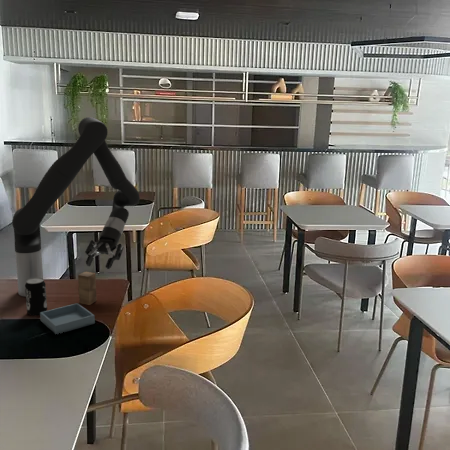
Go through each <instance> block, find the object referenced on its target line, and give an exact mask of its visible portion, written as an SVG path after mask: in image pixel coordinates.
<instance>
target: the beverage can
mask: <svg viewBox="0 0 450 450" xmlns="http://www.w3.org/2000/svg"><path fill="white" fill-rule="evenodd" d="M25 292H26V297H25V302H26V304H25V305H26V312H27V314H28V315H30V316H33V317H34V316H35V317H36V316H40V312H44V311H48V303H47V301H48V300H47V299H48V298H47V286H46V282H45V279H44V277H43V278H30V279H28V280H26V284H25Z"/></svg>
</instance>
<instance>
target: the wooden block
mask: <svg viewBox="0 0 450 450" xmlns="http://www.w3.org/2000/svg"><path fill="white" fill-rule="evenodd" d="M77 278H78V279H77V280H78V282H77V283H78V299H79V301H78V304H80V305H88V306H90V305H93V303H95V302H97V301H98V300H97V283H96V282H97V281H96V279H97V277H96V272H91V271H83V272H81V273H80V274H78V275H77Z"/></svg>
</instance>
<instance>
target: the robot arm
mask: <svg viewBox="0 0 450 450" xmlns="http://www.w3.org/2000/svg"><path fill="white" fill-rule="evenodd" d="M77 127H78V128H77V131H78V134H79V137H78V139H77V140H76V142H75V143H74V145H72V147H70V149H69V150H68V151H67V152H65V153H63V154H62V155H61V156H59V157H58V158H57V159H56V160H55V161H54V162H53V163H52V164H51V166H50V167H49V168H48V169H47V171H46V172H45V174H44V176H43V177H42V179H41V180H40V182H39V184H38V185H37V187H36V189H35V191H34V193H33V195H32V197H31V198H30V199H29V200H28V201H27V203H26V204H25V205H23V207H20V208H19V209H18V210H16V211H15V213H14V214H13V217H12V221H11V224H12V227H13V235H14V252H15V253H14V254H15V255H14V257H15V264H16V266H15V267H16V276H17V279H16V280H17V289H18V290H17V291H18V292H17V293H18V295H19V296H21V297H25V298H26V292H25V284H26V280H28V279H30V278H43V279H44V269H43V255H42V240H41V239H42V237H41V225H40V224H41V222H42V221H43V219H44V218H45V216H46V214H47V213H48V212H49V209H51V207H52V206H53V205H54V204H55V203H56V201H58V200H59V198H60V197H61V196H62V195H63V194H64V192H65V191H66V190H67V188H68V187H69V186H70V185H71V184H72V182H73V181H74V179H75V178H76V177H77V175H78V174H79V172H80V171H81V170H82V168H83V167H84V166H85V164H86V163H87V162H88V160H89V158H91V156H92V155H94V156H95V158H96V159H97V162H98V163H99V166H100V167H101V169H102V171H103V173H104V175H105V178H106V179H107V181H108V183H109V185H110V187H111V188H112V189H114V190H117V191H116V192H115V193H114V196H113V198H112V201H113V202H112V206H111V207H112V208H111V211H110V215H109V216H108V218H107V220H106V222H105V224H104V226H103V229H102V230H101V232H100V234H99V240H98V241H94V240H90V241H89V243H88V246H87V247H86V250H85V252H84V253H85V254H86V255H87V258H86V260H85V264H86V266H87V267H91V265H92V263H93V260H94V258H95V257H97V256H99V255H108V256H109V257H108V260H107V261H106V264H105V268H106V270H110V269H111V268H112V267H113V263H114V262H115V261H119V260H120V259H121V256H122V253H123V250H124V248H125V247H124V246H123V244H121V243H119V242H120V240H121V237H122V234H123V232H124V230H125V227H126V223H127V221H128V219H129V216H130V214H129V213H130V212H129V210H127V208H125V207H134V206H137V205H138V204H139V203H140V200H141V198H140V197H141V196H140V193H139V191H138V189H137V188H136V187H135V186H134V184H132V182H131V181H130V180H129V179H128V178H127V176H126V174H125V172H124V170H123V168H122V166H121V164H120V163H119V161H118V160H117V159H116V157H115V155H114V154H113V153H112V151H111V150H110V148H109V146H108V144H107V142H106V140H107V136H108V127H107V125H106V124H105V123H104V122H103V121H100V120H99V119H97V118H94V117H90V116H89V117H84V118H82V119H81V121H79V124H78V126H77ZM114 251H115V252H114Z"/></svg>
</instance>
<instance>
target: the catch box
mask: <svg viewBox="0 0 450 450" xmlns="http://www.w3.org/2000/svg"><path fill="white" fill-rule="evenodd" d="M39 317H40V319H39V320H40V322H42V324H43V325H44V326H46V327H47V328H48V329H49V330H50V332H51V331H52V333H53V334H55V335H56V334H57V335H60V334H63V332H64V333H66V332H71V331H74V330H78V329H80V328H85V327H87V326H90V325H94V324H95V323H96V321H95V320H96V319H95V314H93V313H92V312H91V311H89V310H88V309H87V308H85V307H84V306H82V304H81V303H79V302H77V303H72V304H68V305H63V306H61V307H56V308H53V309H47V311H44V312H40V315H39ZM59 333H60V334H59Z"/></svg>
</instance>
